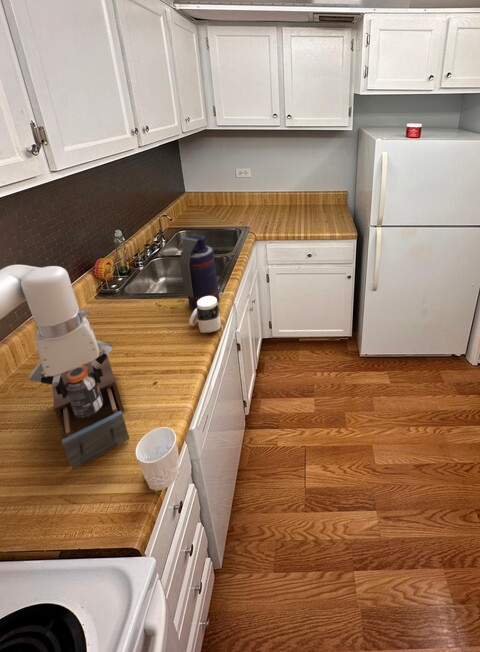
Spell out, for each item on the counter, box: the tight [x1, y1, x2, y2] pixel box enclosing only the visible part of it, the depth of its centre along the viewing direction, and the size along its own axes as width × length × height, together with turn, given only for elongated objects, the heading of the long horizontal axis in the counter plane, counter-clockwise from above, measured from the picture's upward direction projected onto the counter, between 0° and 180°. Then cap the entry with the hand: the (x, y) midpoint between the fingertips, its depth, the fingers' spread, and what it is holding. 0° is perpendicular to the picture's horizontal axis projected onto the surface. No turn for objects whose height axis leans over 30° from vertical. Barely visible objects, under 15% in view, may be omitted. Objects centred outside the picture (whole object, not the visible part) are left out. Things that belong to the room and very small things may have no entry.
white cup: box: [134, 426, 180, 492], centre depth 72 cm, size 8×8×10 cm
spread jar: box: [188, 296, 222, 335], centre depth 120 cm, size 12×11×12 cm
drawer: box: [61, 387, 130, 470], centre depth 79 cm, size 18×12×8 cm, turn 39°
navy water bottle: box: [178, 233, 220, 310], centre depth 130 cm, size 14×12×30 cm
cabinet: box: [51, 351, 125, 438], centre depth 89 cm, size 15×13×10 cm
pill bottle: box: [65, 366, 103, 418], centre depth 77 cm, size 6×6×11 cm
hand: (81, 386), depth 77 cm, fingers closed on pill bottle, 6 cm apart
